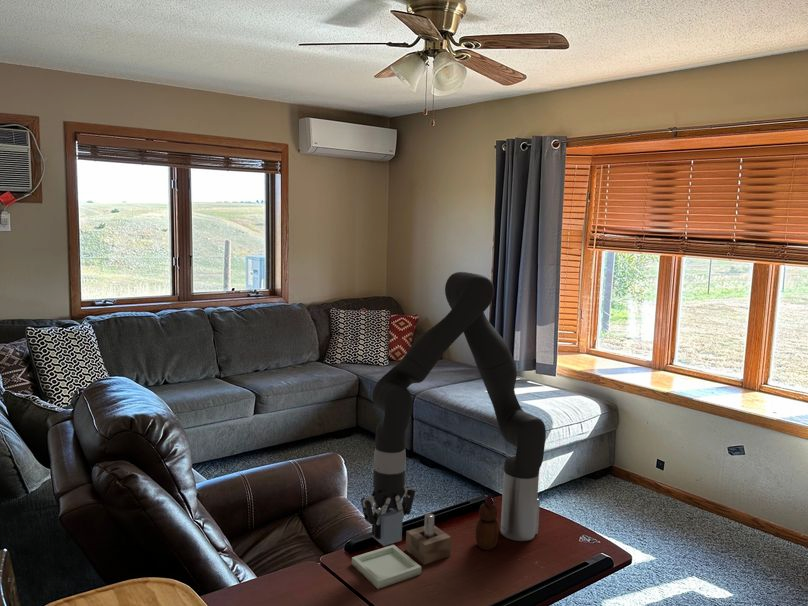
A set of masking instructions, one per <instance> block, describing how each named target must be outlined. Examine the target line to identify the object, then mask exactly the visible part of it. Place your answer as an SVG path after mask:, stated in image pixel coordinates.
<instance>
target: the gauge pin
mask: <svg viewBox="0 0 808 606" xmlns="http://www.w3.org/2000/svg"><path fill="white" fill-rule="evenodd" d="M434 525H435V514H434V513H426V514H424V525H423V526H424V537H425V538H426V539H429V538H432V537H434Z"/></svg>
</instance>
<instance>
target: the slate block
mask: <svg viewBox="0 0 808 606" xmlns="http://www.w3.org/2000/svg"><path fill="white" fill-rule="evenodd" d="M379 509H380V510H381V508H379ZM377 516H378V514H377ZM402 517H403V512H401V511H397V510H396V509H395V508H390V509H388V510H386V513H385V515H384V516H382V517H381V538H380V539H378V540H377V539H376V538H375V537H374V536H373V535H372V534H371V536H372V538H373V539H375V541H377V542H378V543H379V544H381V546H383V547H386V546H390V545H393V544H395V543H399V542H401V541H402V540H403V522H402Z"/></svg>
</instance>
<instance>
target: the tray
mask: <svg viewBox="0 0 808 606" xmlns="http://www.w3.org/2000/svg"><path fill="white" fill-rule="evenodd" d="M351 565H352V566H353V567H354V568H355V569H356V570H357V571H358V572H359V573H360V574H361V575H363V577H365V578H366V579H367V581H369V582H370V583H371V584H372V585H373V587H375V588H376V589H377V590H379V589H381V588H382V589H383V588H384V587H388V586H390V585H394V584H396V583H399V582H402V581H405V580H409V579H411V578H414V577H417V576H419V575H422V566H421V565H420V564H418V563H417V562H416V561H414V560H413V559H412V557H410V556H409V555H407V554H406V553H405V552H404V551H402V550H401V549H400V548H399V547H397V546H396V545H395V544H390V545H386V546H383V547H382V548H378V549H375V550H372V551H369V552H365V553H362V554H358V555H355V556H353V557H351Z"/></svg>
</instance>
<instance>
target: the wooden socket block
mask: <svg viewBox="0 0 808 606" xmlns="http://www.w3.org/2000/svg"><path fill="white" fill-rule="evenodd" d="M405 535H406V537H405V551H406V552H408V553H409V554H410V555H411V556H413V557H414V558H415V559H416V560H417V561H419V562H421V564H422V565H424V566H425V565H428V564H430V563H434V562H436V561H439V560H442V559H445V558H448V557H450V556H451V546H452V545H451V544H452V537H451V535H449V534H448V533H446V532H445V531H443V530H441V529H440V528H439V527H438V526H436V525H435V524H434V537H432V538H429V539H426V538H425V537H424V525H422V526H419V527H416V528H412V529H410V530H406V532H405Z"/></svg>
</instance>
